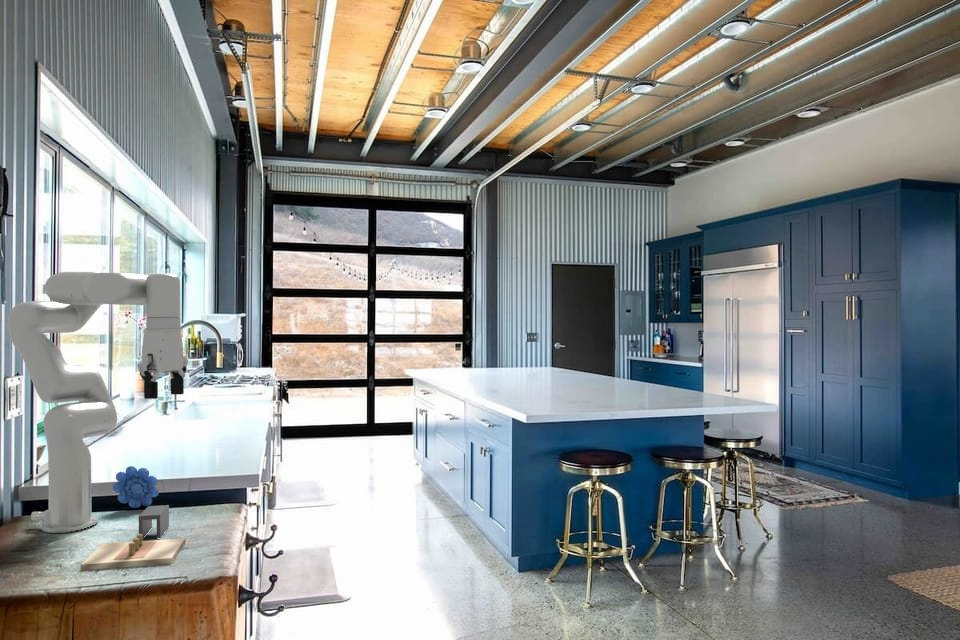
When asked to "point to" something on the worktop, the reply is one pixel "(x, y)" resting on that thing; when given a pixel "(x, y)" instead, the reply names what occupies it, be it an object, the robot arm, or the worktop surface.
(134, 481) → the blue flower
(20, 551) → the worktop surface
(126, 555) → the pin board
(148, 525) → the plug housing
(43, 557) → the worktop surface
